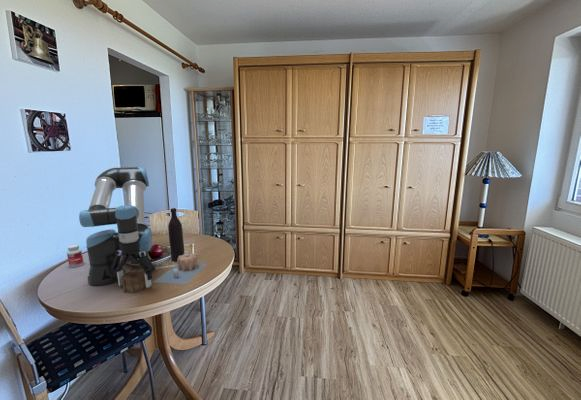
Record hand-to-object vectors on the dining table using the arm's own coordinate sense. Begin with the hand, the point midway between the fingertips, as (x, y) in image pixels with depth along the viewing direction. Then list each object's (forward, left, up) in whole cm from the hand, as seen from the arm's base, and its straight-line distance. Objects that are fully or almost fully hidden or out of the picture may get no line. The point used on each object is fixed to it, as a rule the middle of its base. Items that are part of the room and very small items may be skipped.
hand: (135, 285), depth 120 cm
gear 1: (0, 0, -1) cm, 1 cm away
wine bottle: (+3, +30, -1) cm, 30 cm away
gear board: (+14, +15, -1) cm, 21 cm away
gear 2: (+14, +21, 0) cm, 25 cm away
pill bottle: (-49, +17, -1) cm, 52 cm away
